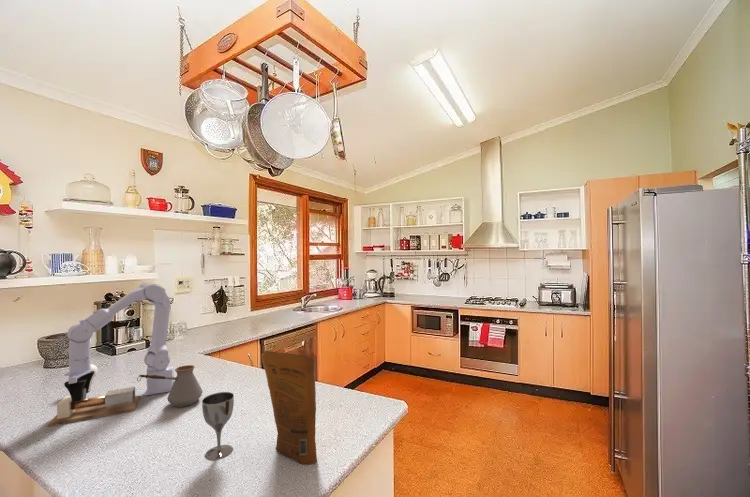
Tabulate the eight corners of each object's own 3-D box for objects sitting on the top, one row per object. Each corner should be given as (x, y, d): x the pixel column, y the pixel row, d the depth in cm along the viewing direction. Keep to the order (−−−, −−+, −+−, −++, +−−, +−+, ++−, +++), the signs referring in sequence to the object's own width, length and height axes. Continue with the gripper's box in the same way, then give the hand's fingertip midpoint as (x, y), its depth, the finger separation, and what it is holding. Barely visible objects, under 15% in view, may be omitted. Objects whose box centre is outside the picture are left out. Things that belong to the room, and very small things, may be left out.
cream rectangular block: (76, 408, 119) (76, 394, 119) (69, 416, 113) (69, 402, 113) (65, 410, 118) (65, 396, 118) (57, 419, 112) (57, 404, 112)
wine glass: (210, 445, 96) (209, 392, 96) (238, 443, 96) (237, 391, 97) (197, 462, 88) (196, 405, 88) (228, 460, 88) (227, 403, 89)
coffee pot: (192, 393, 132) (191, 355, 133) (208, 399, 126) (208, 360, 127) (130, 416, 114) (130, 372, 115) (146, 424, 108) (145, 378, 109)
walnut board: (140, 397, 130) (140, 395, 130) (133, 410, 119) (133, 407, 119) (63, 411, 119) (63, 408, 119) (48, 426, 109) (48, 423, 109)
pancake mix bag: (308, 474, 82) (305, 360, 82) (260, 449, 93) (259, 349, 93) (327, 460, 87) (325, 353, 88) (280, 438, 98) (278, 343, 99)
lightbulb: (86, 394, 134) (86, 367, 134) (74, 393, 135) (73, 366, 135) (101, 388, 140) (101, 362, 140) (89, 387, 141) (89, 361, 141)
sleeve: (135, 399, 126) (135, 386, 126) (132, 404, 122) (132, 391, 122) (108, 403, 122) (108, 390, 122) (105, 409, 118) (105, 395, 118)
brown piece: (115, 401, 122) (114, 383, 123) (112, 404, 120) (112, 386, 120) (67, 409, 116) (67, 390, 117) (63, 412, 114) (63, 393, 114)
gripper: (73, 354, 122) (73, 392, 122) (56, 366, 109) (56, 408, 109) (97, 352, 125) (97, 388, 125) (83, 362, 112) (84, 403, 112)
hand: (80, 397), depth 117 cm, fingers open, 6 cm apart
